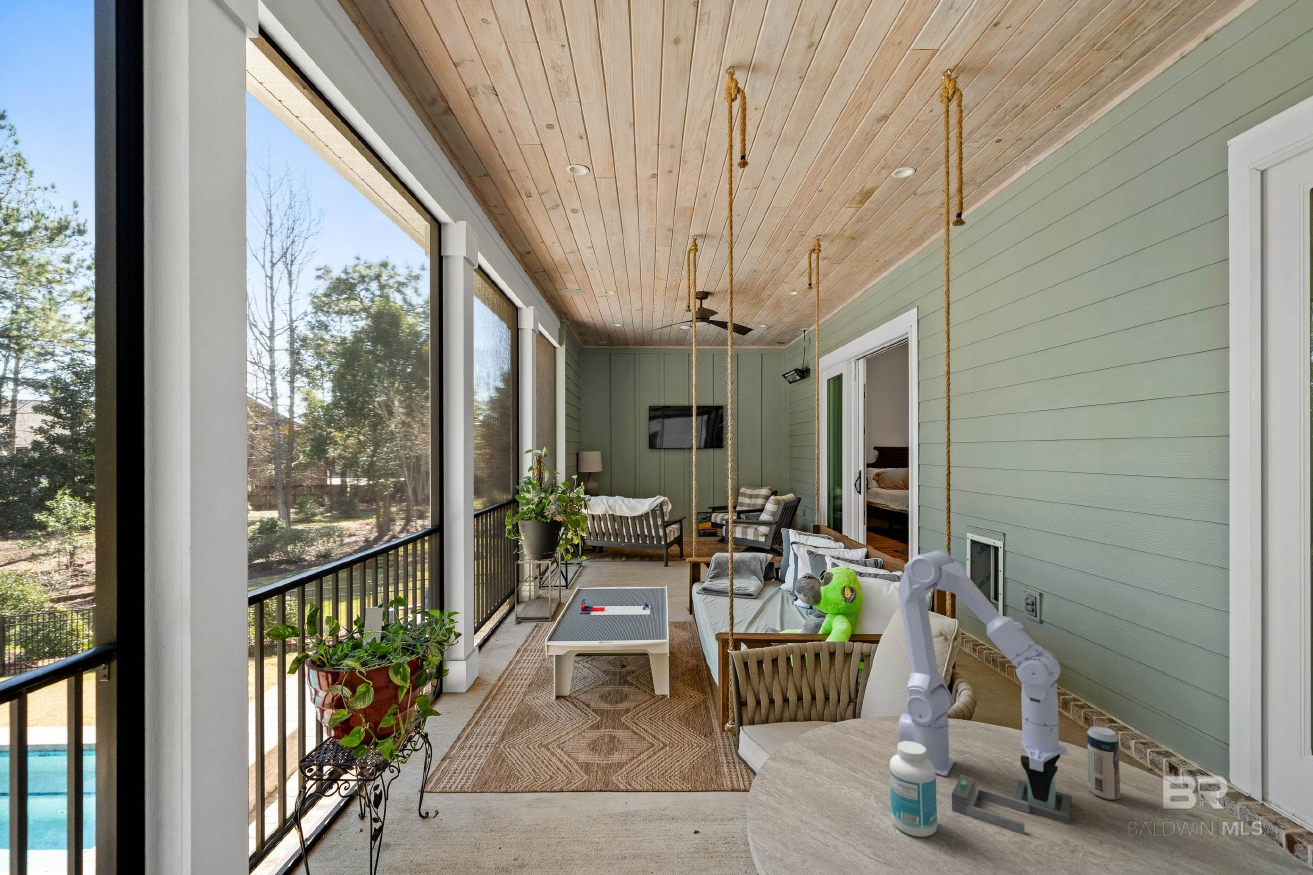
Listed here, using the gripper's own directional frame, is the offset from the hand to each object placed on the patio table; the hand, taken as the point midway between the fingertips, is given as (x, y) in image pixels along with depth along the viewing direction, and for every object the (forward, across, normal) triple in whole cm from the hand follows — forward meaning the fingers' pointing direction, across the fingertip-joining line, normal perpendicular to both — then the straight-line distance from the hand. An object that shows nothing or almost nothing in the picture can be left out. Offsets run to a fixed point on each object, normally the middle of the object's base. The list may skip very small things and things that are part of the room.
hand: (1041, 793), depth 109 cm
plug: (+2, 0, 0) cm, 2 cm away
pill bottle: (+2, -21, +17) cm, 27 cm away
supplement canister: (+2, +11, -9) cm, 14 cm away
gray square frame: (+2, 0, 0) cm, 2 cm away
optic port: (+2, -8, +7) cm, 11 cm away
